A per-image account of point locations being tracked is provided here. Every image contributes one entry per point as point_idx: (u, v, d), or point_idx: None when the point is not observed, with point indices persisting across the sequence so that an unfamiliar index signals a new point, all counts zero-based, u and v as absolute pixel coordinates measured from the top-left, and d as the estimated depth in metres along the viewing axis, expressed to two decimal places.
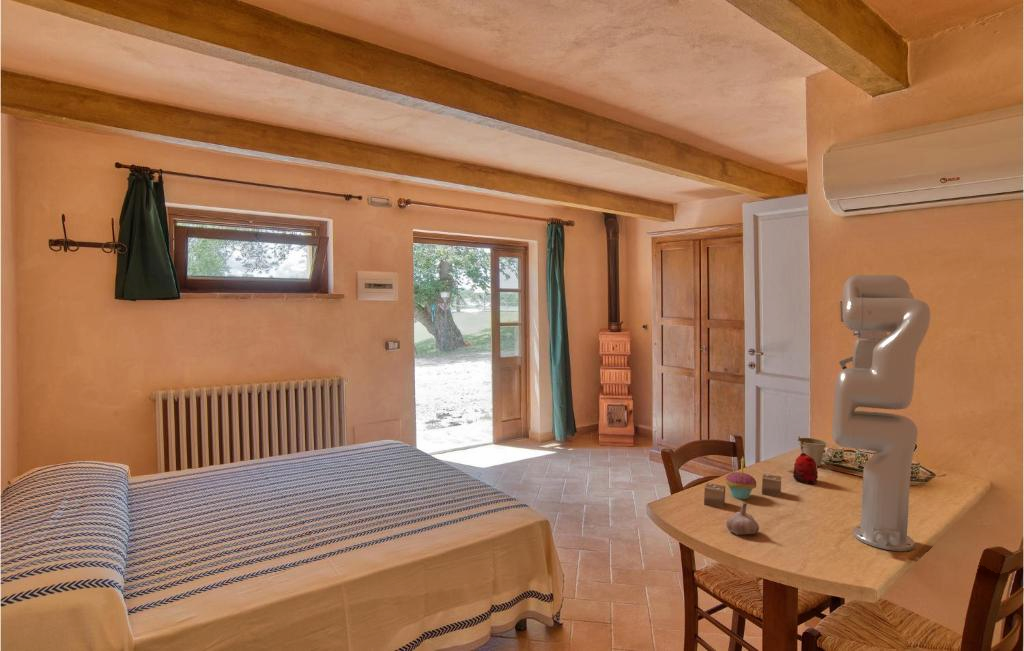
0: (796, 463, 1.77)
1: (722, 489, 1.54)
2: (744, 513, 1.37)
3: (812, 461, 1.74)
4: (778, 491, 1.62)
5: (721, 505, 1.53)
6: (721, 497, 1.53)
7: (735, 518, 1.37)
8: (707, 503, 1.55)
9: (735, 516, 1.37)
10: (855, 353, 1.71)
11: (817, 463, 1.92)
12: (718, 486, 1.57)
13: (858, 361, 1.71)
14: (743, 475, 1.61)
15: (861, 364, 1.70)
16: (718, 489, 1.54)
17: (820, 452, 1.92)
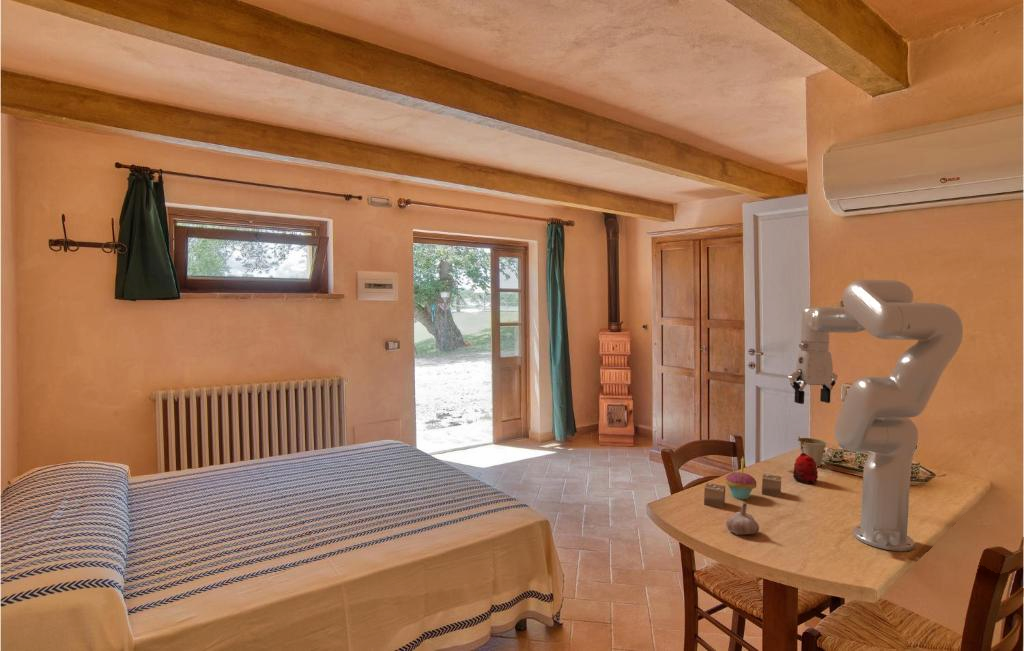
0: (796, 463, 1.77)
1: (722, 489, 1.54)
2: (744, 513, 1.37)
3: (812, 461, 1.74)
4: (778, 491, 1.62)
5: (721, 505, 1.53)
6: (721, 497, 1.53)
7: (735, 518, 1.37)
8: (707, 503, 1.55)
9: (735, 516, 1.37)
10: (807, 367, 1.63)
11: (817, 463, 1.92)
12: (718, 486, 1.57)
13: (810, 375, 1.63)
14: (743, 475, 1.61)
15: (812, 378, 1.63)
16: (718, 489, 1.54)
17: (819, 452, 1.92)
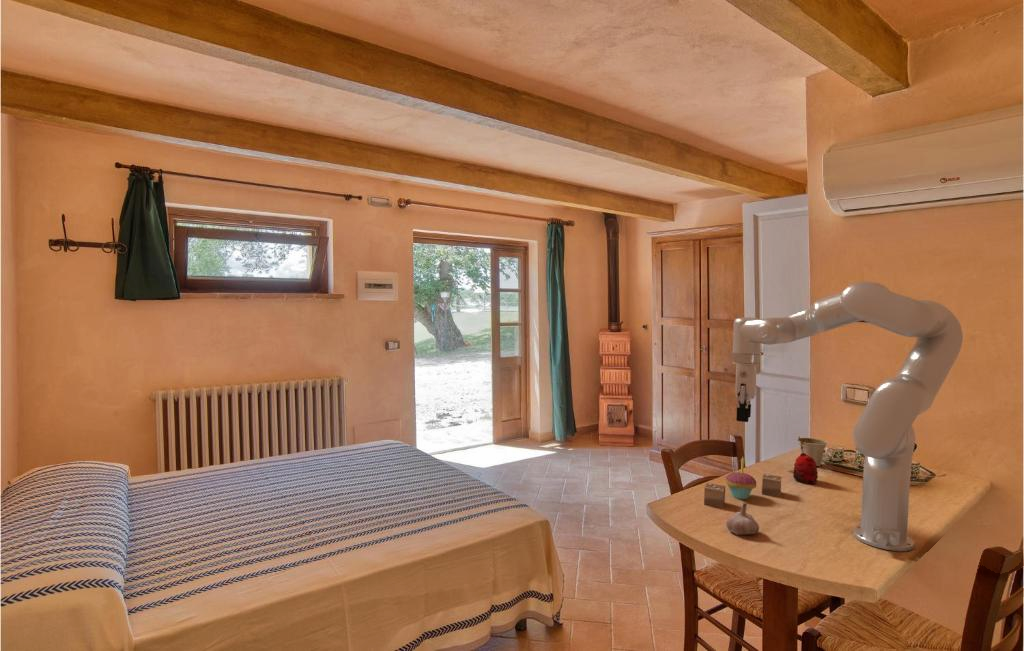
0: (796, 463, 1.77)
1: (722, 489, 1.54)
2: (744, 513, 1.37)
3: (812, 461, 1.74)
4: (778, 491, 1.62)
5: (721, 505, 1.53)
6: (721, 497, 1.53)
7: (735, 518, 1.37)
8: (707, 503, 1.55)
9: (735, 516, 1.37)
10: (752, 381, 1.55)
11: (817, 463, 1.92)
12: (718, 486, 1.57)
13: (753, 389, 1.56)
14: (743, 475, 1.61)
15: (754, 391, 1.57)
16: (718, 489, 1.54)
17: (819, 452, 1.92)
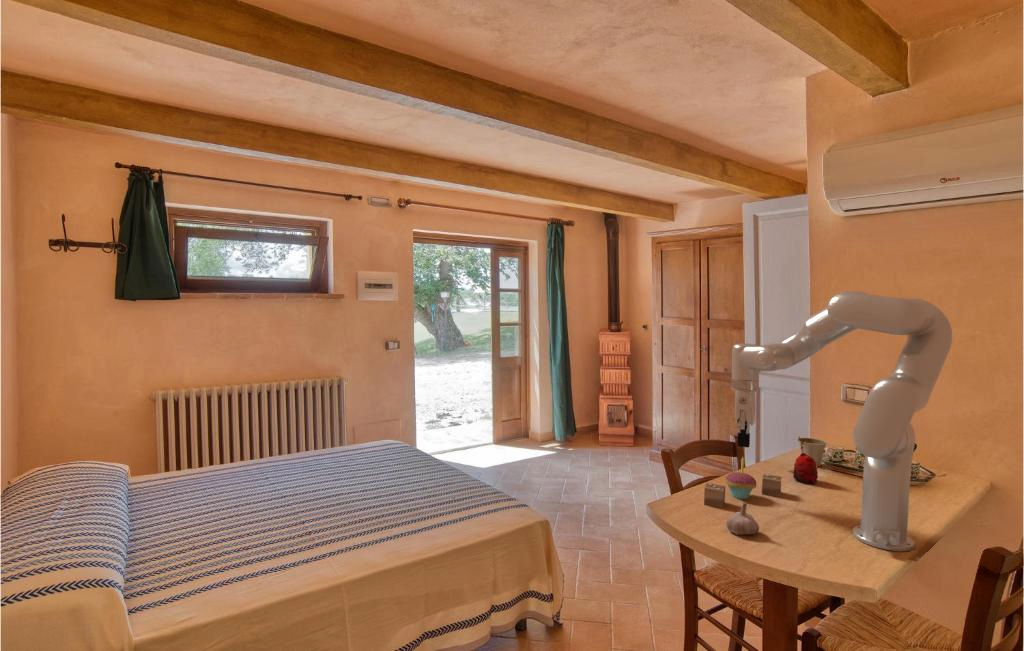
0: (796, 463, 1.77)
1: (722, 489, 1.54)
2: (744, 513, 1.37)
3: (812, 461, 1.74)
4: (778, 491, 1.62)
5: (721, 505, 1.53)
6: (721, 497, 1.53)
7: (735, 518, 1.37)
8: (707, 503, 1.55)
9: (735, 516, 1.37)
10: (752, 407, 1.56)
11: (817, 463, 1.92)
12: (718, 486, 1.57)
13: (753, 415, 1.56)
14: (743, 475, 1.61)
15: (753, 418, 1.57)
16: (718, 489, 1.54)
17: (819, 452, 1.92)
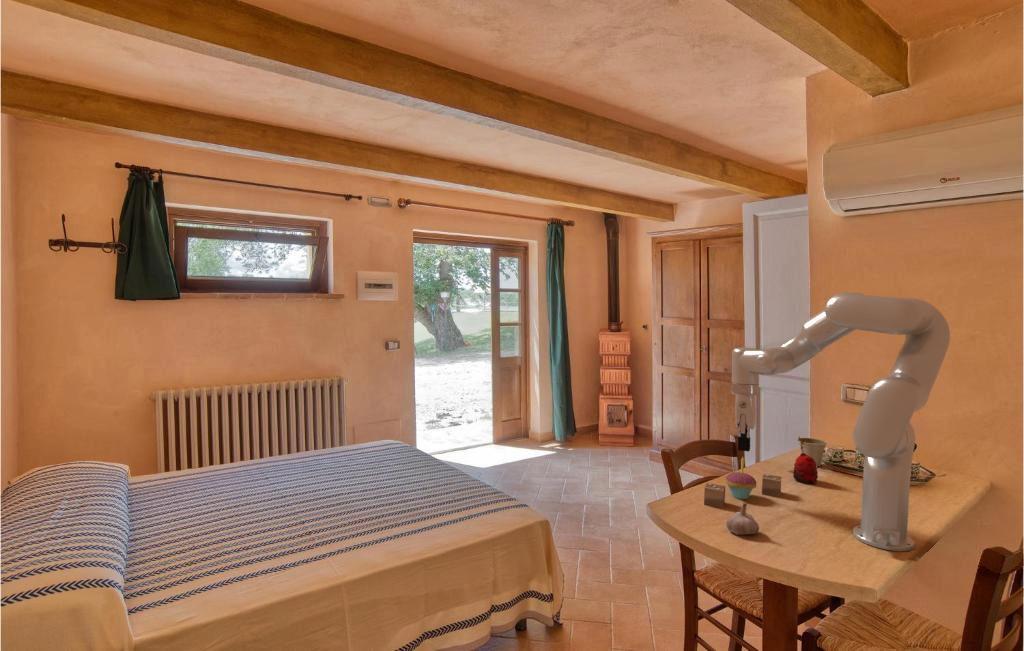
0: (796, 463, 1.77)
1: (722, 489, 1.54)
2: (744, 513, 1.37)
3: (812, 461, 1.74)
4: (778, 491, 1.62)
5: (721, 505, 1.53)
6: (721, 497, 1.53)
7: (735, 518, 1.37)
8: (707, 503, 1.55)
9: (735, 516, 1.37)
10: (752, 411, 1.56)
11: (817, 463, 1.92)
12: (718, 486, 1.57)
13: (753, 419, 1.56)
14: (743, 475, 1.61)
15: (753, 422, 1.57)
16: (718, 489, 1.54)
17: (819, 452, 1.92)
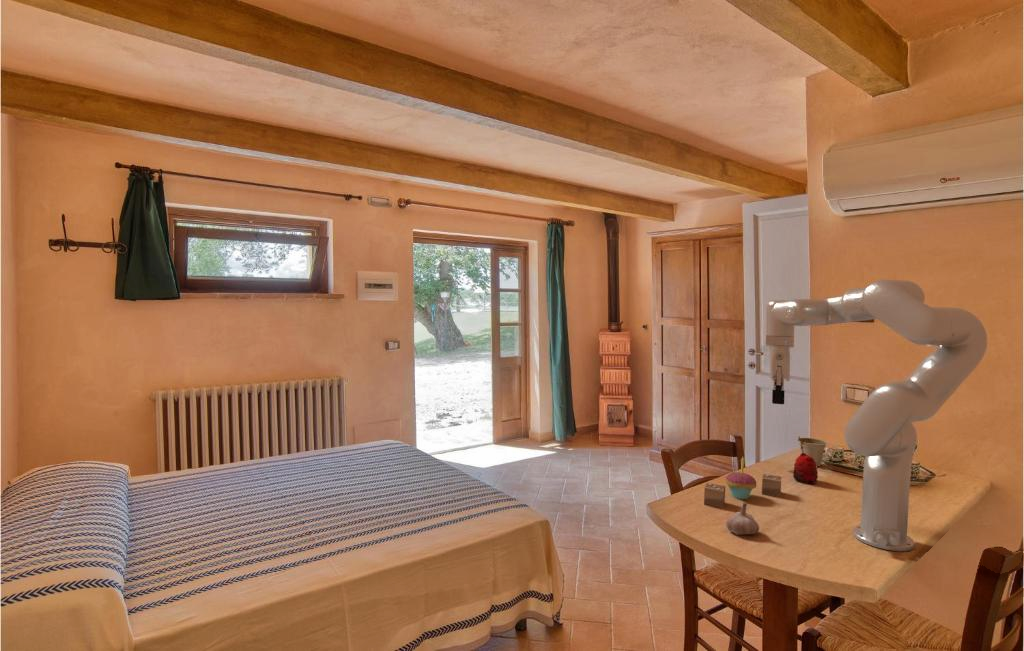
0: (796, 463, 1.77)
1: (722, 489, 1.54)
2: (744, 513, 1.37)
3: (812, 461, 1.74)
4: (778, 491, 1.62)
5: (721, 505, 1.53)
6: (721, 497, 1.53)
7: (735, 518, 1.37)
8: (707, 503, 1.55)
9: (735, 516, 1.37)
10: (788, 363, 1.55)
11: (817, 463, 1.92)
12: (718, 486, 1.57)
13: (789, 371, 1.56)
14: (743, 475, 1.61)
15: (789, 374, 1.57)
16: (718, 489, 1.54)
17: (819, 452, 1.92)
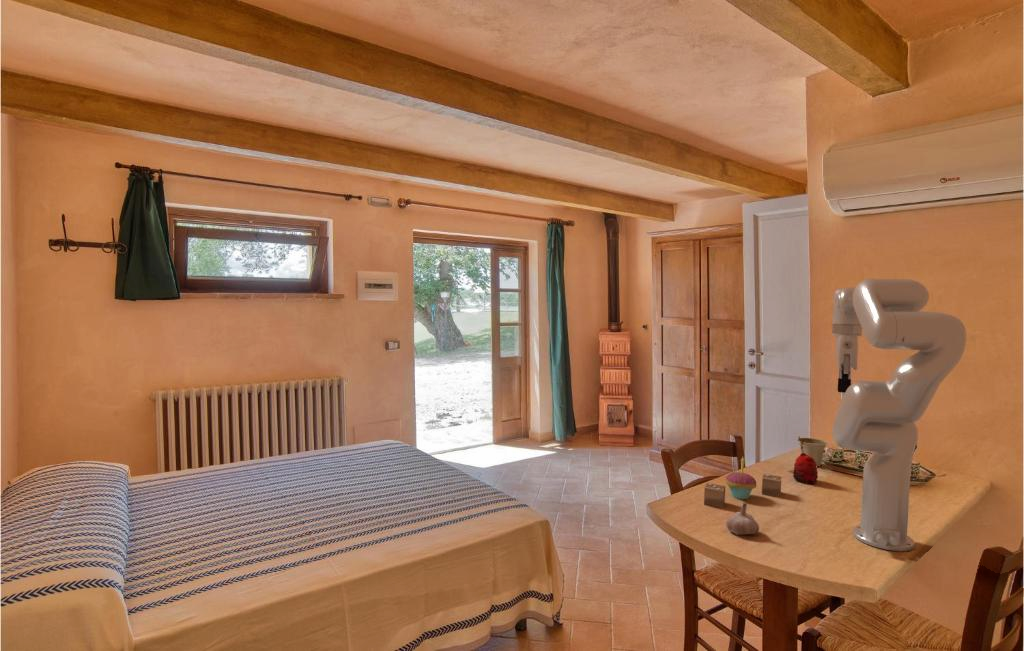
0: (796, 463, 1.77)
1: (722, 489, 1.54)
2: (744, 513, 1.37)
3: (812, 461, 1.74)
4: (778, 491, 1.62)
5: (721, 505, 1.53)
6: (721, 497, 1.53)
7: (735, 518, 1.37)
8: (707, 503, 1.55)
9: (735, 516, 1.37)
10: (857, 351, 1.55)
11: (817, 463, 1.92)
12: (718, 486, 1.57)
13: None
14: (743, 475, 1.61)
15: None
16: (718, 489, 1.54)
17: (819, 452, 1.92)
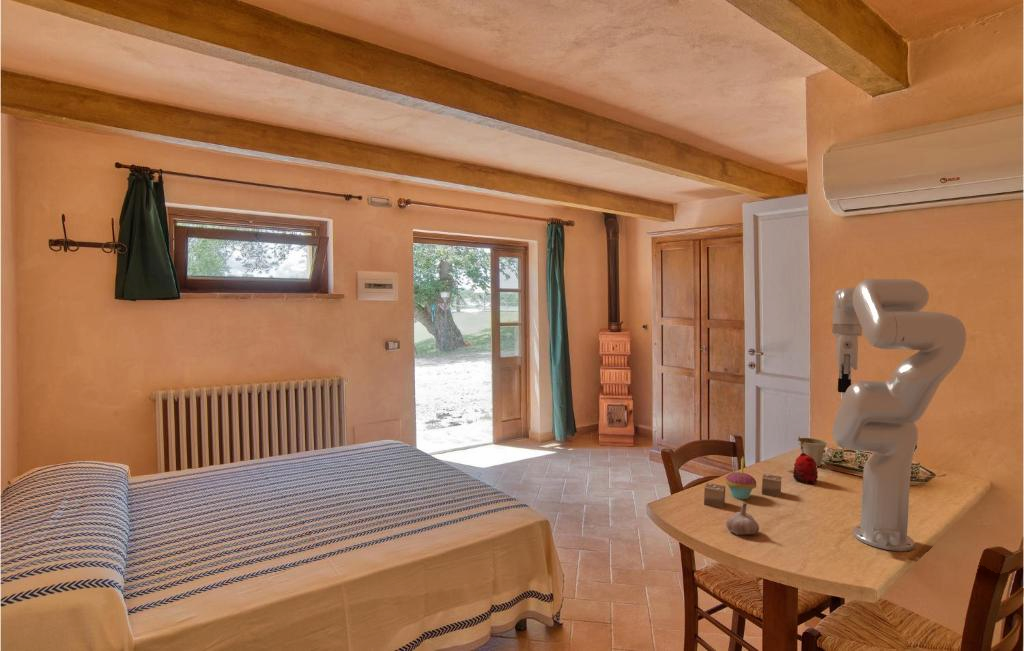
0: (796, 463, 1.77)
1: (722, 489, 1.54)
2: (744, 513, 1.37)
3: (812, 461, 1.74)
4: (778, 491, 1.62)
5: (721, 505, 1.53)
6: (721, 497, 1.53)
7: (735, 518, 1.37)
8: (707, 503, 1.55)
9: (735, 516, 1.37)
10: (857, 351, 1.55)
11: (817, 463, 1.92)
12: (718, 486, 1.57)
13: (857, 359, 1.56)
14: (743, 475, 1.61)
15: None
16: (718, 489, 1.54)
17: (819, 452, 1.92)
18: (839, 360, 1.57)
